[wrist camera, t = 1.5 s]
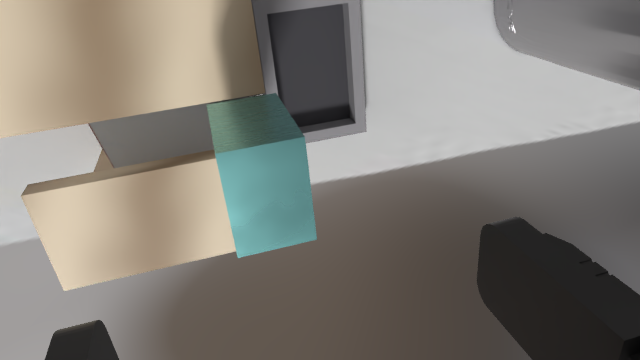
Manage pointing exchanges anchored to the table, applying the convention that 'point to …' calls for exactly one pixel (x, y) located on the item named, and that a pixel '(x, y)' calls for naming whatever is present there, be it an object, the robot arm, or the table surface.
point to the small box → (155, 135)
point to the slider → (262, 173)
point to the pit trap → (314, 63)
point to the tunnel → (122, 101)
